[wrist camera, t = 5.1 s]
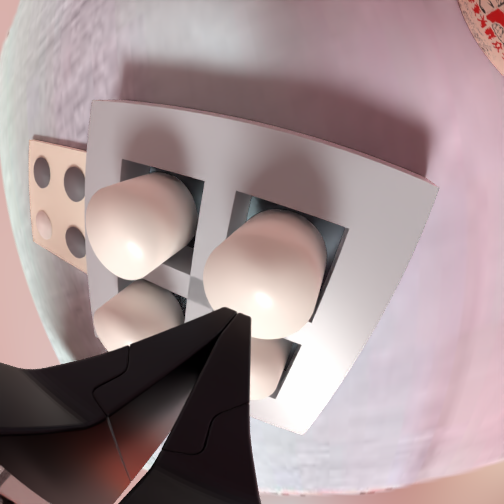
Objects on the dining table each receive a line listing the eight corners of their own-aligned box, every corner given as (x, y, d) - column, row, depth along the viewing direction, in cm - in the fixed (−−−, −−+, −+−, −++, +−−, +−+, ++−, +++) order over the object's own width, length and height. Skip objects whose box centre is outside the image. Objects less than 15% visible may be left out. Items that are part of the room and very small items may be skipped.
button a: (281, 370, 18) (266, 409, 15) (221, 346, 18) (198, 380, 16) (302, 322, 16) (288, 362, 13) (232, 295, 16) (206, 329, 14)
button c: (309, 308, 14) (294, 353, 11) (228, 277, 14) (196, 314, 12) (340, 228, 12) (334, 261, 9) (246, 196, 12) (212, 218, 10)
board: (310, 408, 19) (303, 435, 16) (114, 319, 22) (94, 336, 20) (425, 177, 11) (439, 187, 9) (122, 99, 14) (92, 100, 12)
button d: (191, 262, 15) (154, 294, 12) (128, 236, 15) (87, 260, 13) (204, 183, 13) (161, 201, 10) (133, 164, 14) (85, 176, 11)
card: (102, 278, 20) (97, 281, 20) (36, 239, 22) (32, 241, 22) (103, 155, 16) (97, 156, 16) (33, 139, 18) (27, 140, 18)
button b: (181, 347, 17) (153, 381, 15) (129, 319, 18) (97, 348, 15) (187, 295, 16) (153, 329, 13) (128, 267, 16) (90, 294, 14)
